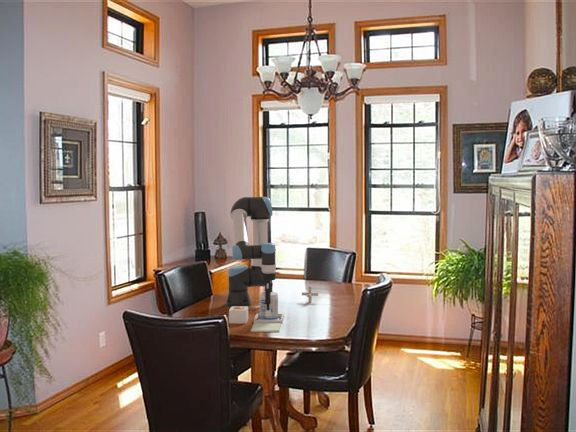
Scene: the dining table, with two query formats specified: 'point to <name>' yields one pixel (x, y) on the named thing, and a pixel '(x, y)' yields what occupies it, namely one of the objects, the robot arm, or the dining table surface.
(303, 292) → the pipe connector
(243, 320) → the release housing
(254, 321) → the frame
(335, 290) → the dining table surface
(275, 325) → the mat
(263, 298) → the supplement tub
